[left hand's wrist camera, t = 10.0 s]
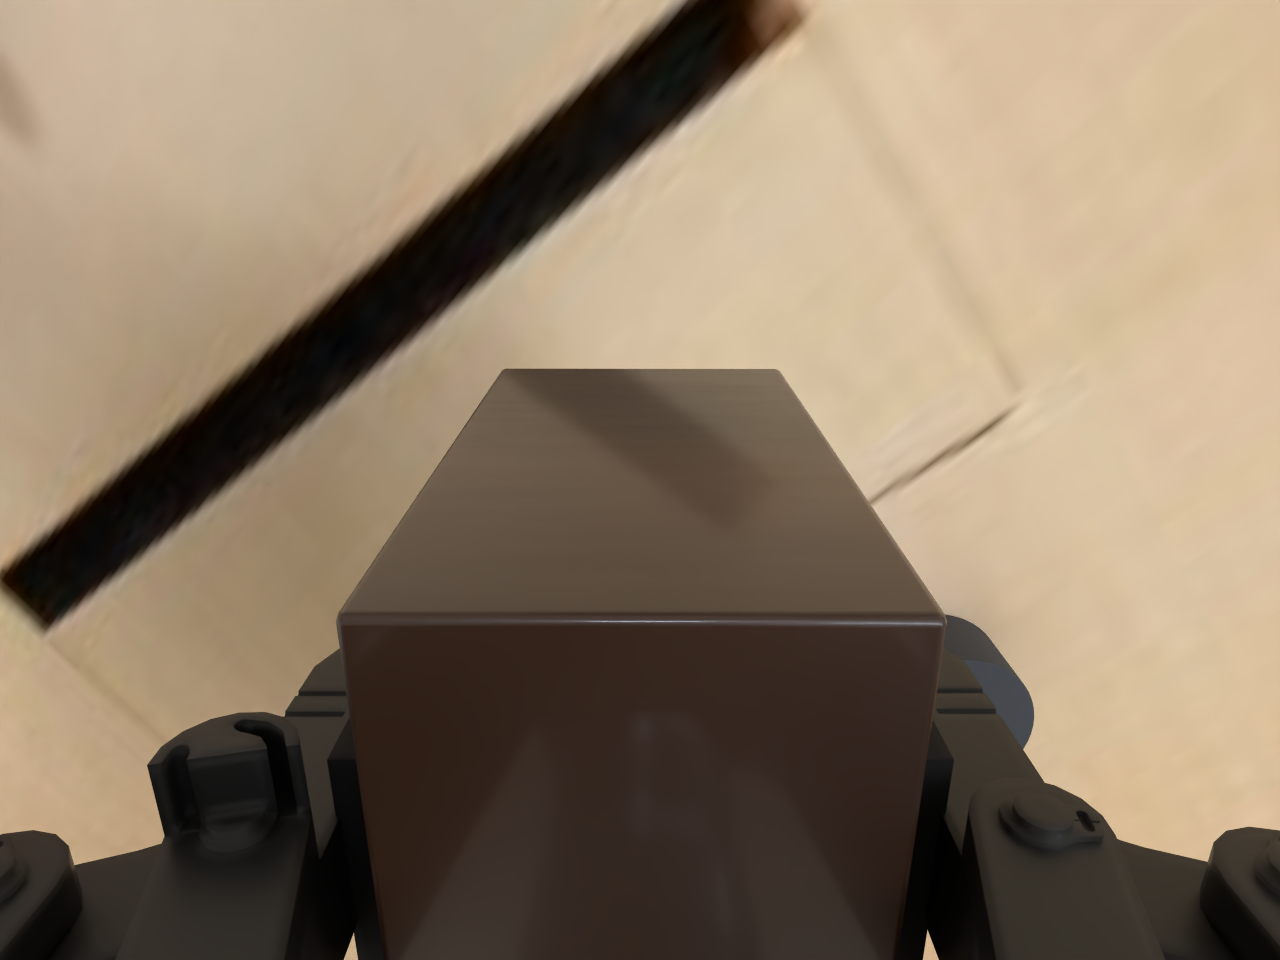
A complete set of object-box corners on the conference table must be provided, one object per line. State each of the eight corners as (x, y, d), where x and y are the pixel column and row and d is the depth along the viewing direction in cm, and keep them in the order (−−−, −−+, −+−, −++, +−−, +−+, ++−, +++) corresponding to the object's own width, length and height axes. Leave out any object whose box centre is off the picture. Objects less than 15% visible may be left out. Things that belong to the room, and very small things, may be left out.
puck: (866, 614, 30) (889, 660, 27) (1008, 614, 30) (1046, 660, 27) (853, 732, 31) (874, 787, 29) (987, 732, 31) (1022, 787, 29)
